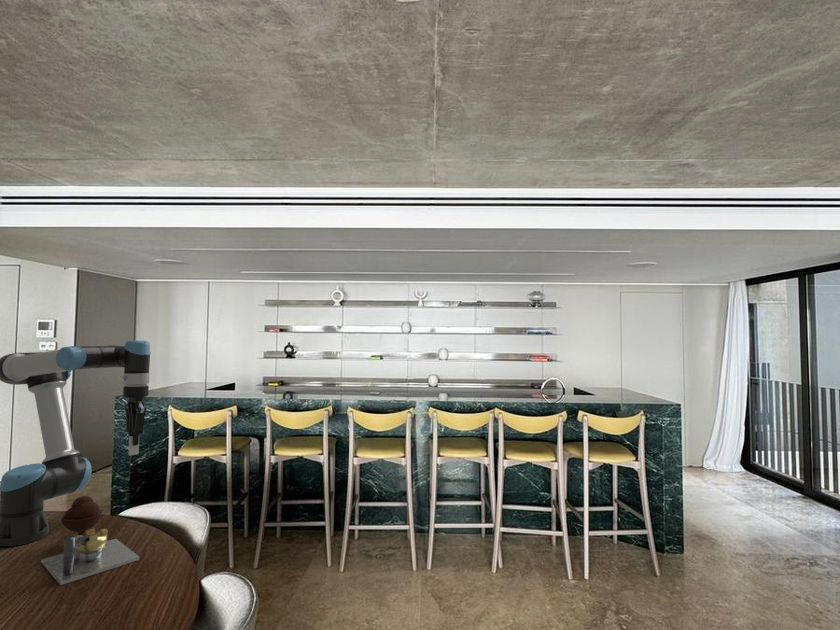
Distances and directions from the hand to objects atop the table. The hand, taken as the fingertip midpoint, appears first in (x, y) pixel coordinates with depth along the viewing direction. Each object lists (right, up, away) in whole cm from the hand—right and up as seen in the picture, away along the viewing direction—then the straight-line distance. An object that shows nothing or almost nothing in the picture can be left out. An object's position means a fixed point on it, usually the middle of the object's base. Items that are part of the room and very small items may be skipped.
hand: (133, 454), depth 164 cm
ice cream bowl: (-14, -28, -5) cm, 32 cm away
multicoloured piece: (-2, -26, -21) cm, 34 cm away
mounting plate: (-2, -28, -18) cm, 33 cm away
